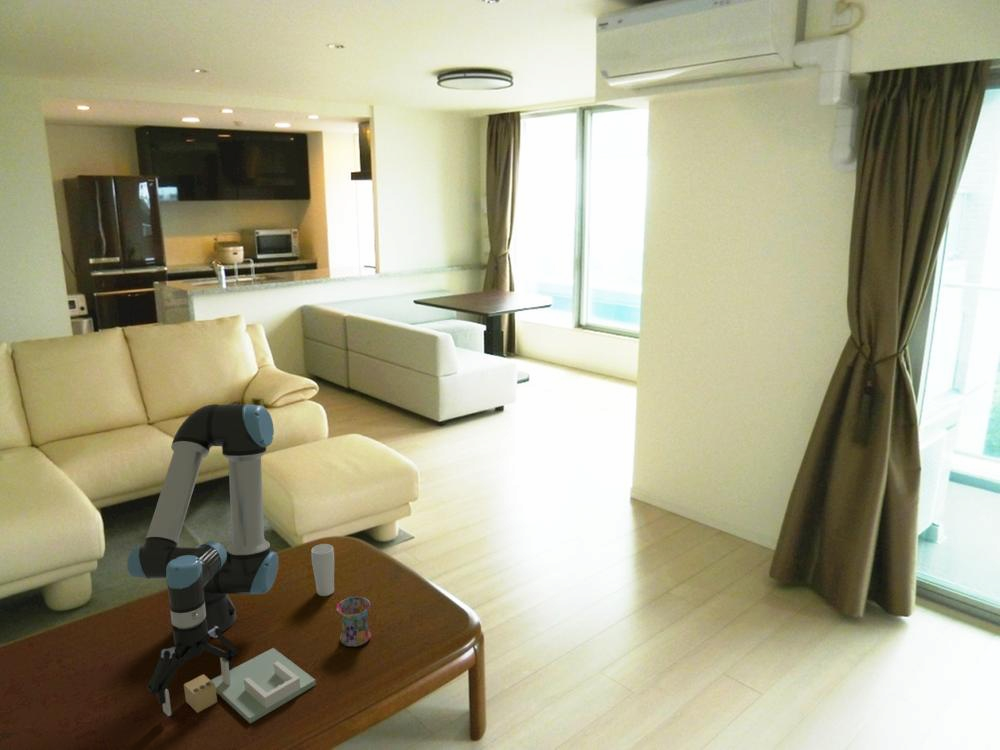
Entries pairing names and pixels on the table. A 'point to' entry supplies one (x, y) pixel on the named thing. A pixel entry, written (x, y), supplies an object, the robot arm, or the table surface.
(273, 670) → the board
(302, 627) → the table surface
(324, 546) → the drinking glass
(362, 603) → the mug
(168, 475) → the robot arm
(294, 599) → the table surface
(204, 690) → the plug
